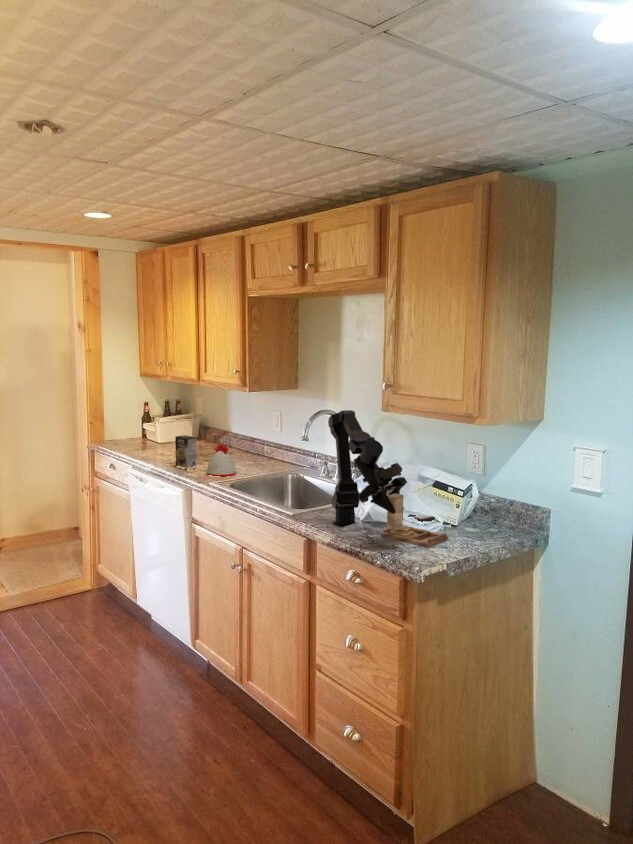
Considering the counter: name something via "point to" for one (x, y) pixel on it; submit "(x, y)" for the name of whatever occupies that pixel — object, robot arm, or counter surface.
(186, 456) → the coffee box
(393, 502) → the tan wooden block
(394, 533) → the oak offcut lower
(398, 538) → the rack
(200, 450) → the counter surface
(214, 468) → the grey pompom beanie
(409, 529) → the oak offcut upper
